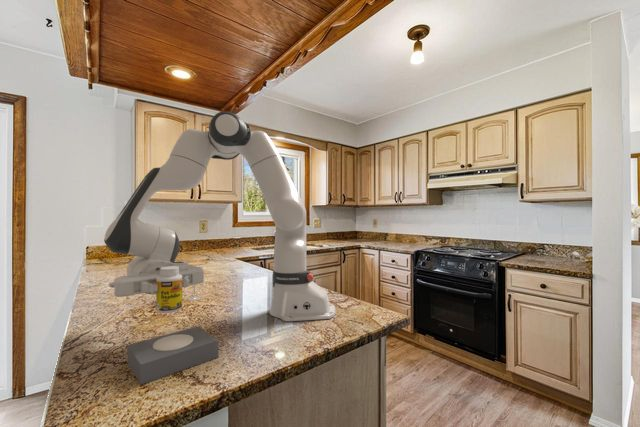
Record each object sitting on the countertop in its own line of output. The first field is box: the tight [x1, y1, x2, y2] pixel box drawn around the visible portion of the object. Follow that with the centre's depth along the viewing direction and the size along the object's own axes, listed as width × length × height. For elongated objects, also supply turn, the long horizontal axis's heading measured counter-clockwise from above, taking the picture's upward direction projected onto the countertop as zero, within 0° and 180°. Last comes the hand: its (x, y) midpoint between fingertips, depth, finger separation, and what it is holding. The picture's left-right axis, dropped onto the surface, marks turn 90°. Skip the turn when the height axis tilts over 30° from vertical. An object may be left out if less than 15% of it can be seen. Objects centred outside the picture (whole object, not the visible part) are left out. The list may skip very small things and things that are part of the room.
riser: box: [126, 325, 219, 385], centre depth 69 cm, size 16×12×4 cm
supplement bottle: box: [155, 266, 183, 314], centre depth 71 cm, size 6×6×10 cm
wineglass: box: [187, 266, 204, 301], centre depth 118 cm, size 7×7×12 cm
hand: (170, 286), depth 70 cm, fingers closed on supplement bottle, 6 cm apart
